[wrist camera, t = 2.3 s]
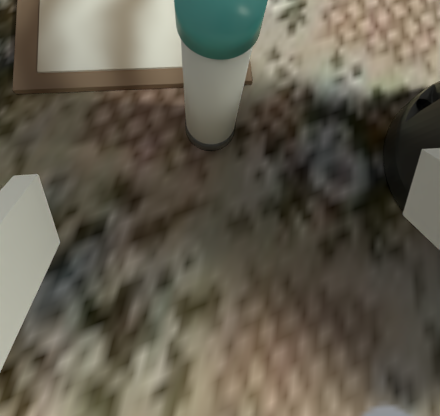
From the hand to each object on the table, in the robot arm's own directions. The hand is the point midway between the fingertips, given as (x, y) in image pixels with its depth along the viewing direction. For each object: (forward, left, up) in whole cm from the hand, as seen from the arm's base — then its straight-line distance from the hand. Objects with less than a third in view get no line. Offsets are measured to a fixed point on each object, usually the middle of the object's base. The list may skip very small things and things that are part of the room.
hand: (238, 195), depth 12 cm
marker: (0, -10, -15) cm, 19 cm away
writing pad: (+6, -22, -15) cm, 28 cm away
